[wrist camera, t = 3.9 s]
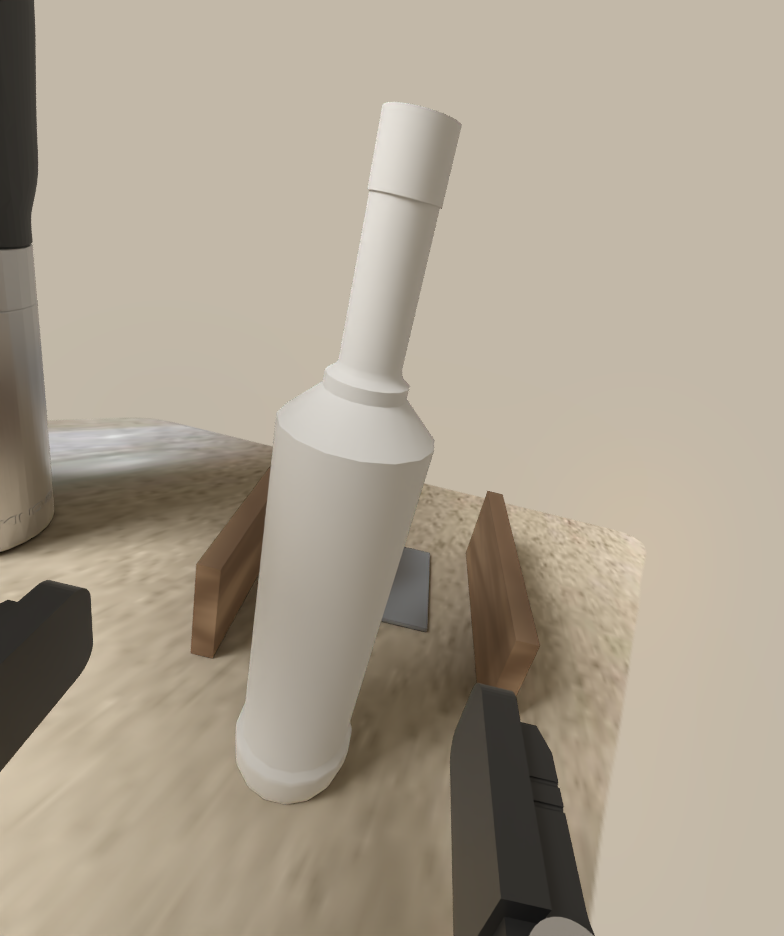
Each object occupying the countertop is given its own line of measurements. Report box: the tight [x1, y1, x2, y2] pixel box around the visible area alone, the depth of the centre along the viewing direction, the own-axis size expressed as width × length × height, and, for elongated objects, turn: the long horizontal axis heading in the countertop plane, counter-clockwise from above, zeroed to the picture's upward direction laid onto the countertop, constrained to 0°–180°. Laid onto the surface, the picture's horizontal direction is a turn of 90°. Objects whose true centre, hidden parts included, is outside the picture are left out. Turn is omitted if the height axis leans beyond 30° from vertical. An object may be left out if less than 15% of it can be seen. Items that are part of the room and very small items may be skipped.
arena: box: [191, 466, 540, 696], centre depth 33 cm, size 17×16×6 cm
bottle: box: [235, 102, 461, 805], centre depth 18 cm, size 5×5×25 cm
